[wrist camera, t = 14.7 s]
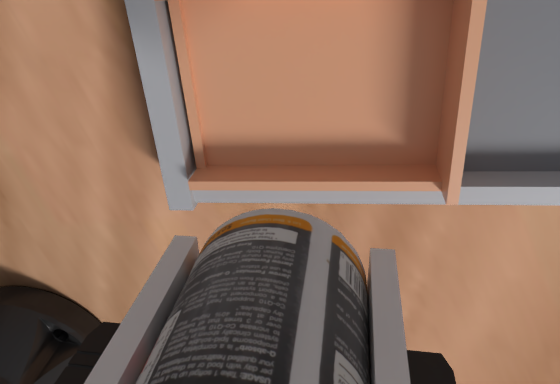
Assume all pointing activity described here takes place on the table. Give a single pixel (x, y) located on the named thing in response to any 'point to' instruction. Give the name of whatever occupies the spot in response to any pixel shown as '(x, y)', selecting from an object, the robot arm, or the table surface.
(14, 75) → the table surface
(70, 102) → the table surface
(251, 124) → the crate
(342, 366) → the pill bottle
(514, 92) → the bay
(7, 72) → the table surface
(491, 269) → the table surface
